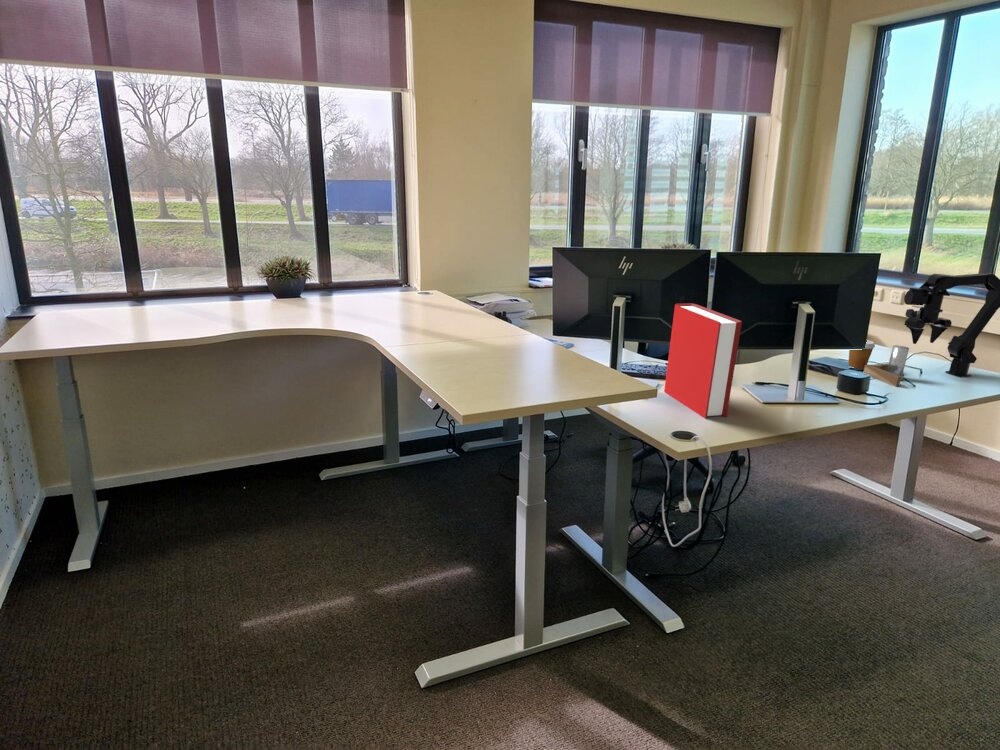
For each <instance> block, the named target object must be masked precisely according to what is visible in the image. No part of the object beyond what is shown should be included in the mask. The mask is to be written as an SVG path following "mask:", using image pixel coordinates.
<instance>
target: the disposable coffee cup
mask: <svg viewBox="0 0 1000 750" xmlns="http://www.w3.org/2000/svg"><path fill="white" fill-rule="evenodd" d="M866 340H867V342H866V347H865V349H862V350H848V365H849V366H851V367H854V368H859V369H862V370H863V371H862V372H864V368H865V365H867V364H869V361H870V357H871V355H872V352H873V350H874V348H875V347H876V345H875V342H874V341H873V340H868V339H866ZM848 365H847V366H848Z"/></svg>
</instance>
